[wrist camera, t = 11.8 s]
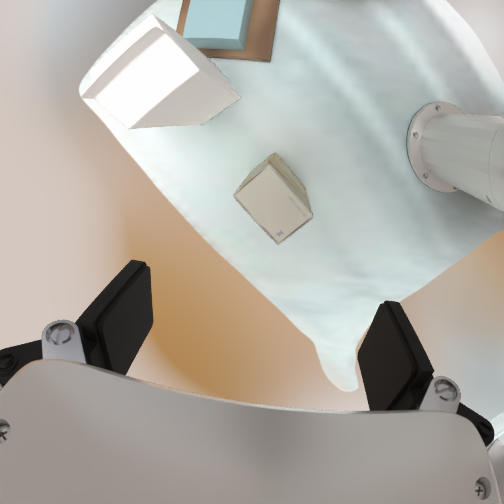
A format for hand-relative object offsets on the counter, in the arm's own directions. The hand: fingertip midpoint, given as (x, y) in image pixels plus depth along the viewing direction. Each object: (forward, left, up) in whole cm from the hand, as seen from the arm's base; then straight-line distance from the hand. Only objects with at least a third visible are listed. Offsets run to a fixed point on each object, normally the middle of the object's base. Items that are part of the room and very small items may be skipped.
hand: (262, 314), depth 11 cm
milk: (+10, -10, -27) cm, 31 cm away
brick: (+9, -20, -26) cm, 34 cm away
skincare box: (0, 0, -27) cm, 27 cm away
